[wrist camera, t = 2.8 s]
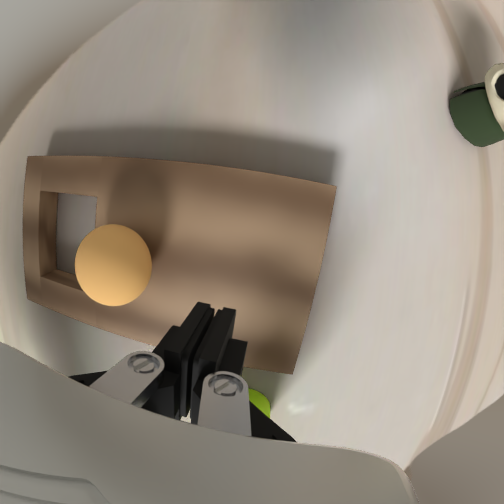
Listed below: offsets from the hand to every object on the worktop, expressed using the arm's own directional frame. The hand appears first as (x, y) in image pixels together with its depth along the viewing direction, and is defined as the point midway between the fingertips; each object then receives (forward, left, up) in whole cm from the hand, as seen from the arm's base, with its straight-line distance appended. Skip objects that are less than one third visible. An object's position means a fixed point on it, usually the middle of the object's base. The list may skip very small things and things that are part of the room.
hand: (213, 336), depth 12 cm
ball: (0, +9, -7) cm, 12 cm away
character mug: (+19, -20, -13) cm, 30 cm away
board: (0, +9, -13) cm, 16 cm away
